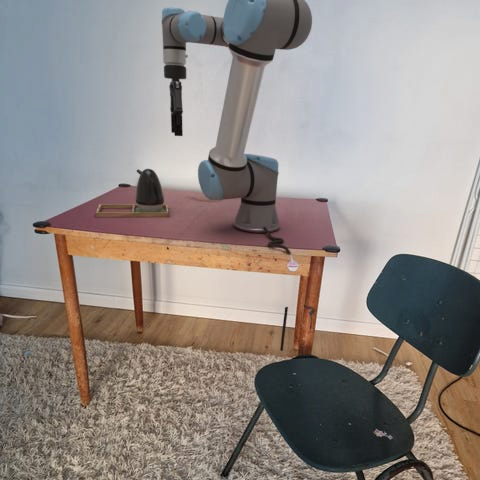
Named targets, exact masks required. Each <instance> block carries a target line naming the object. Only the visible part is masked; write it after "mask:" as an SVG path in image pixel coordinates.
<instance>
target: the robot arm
mask: <svg viewBox="0 0 480 480" xmlns="http://www.w3.org/2000/svg"><path fill="white" fill-rule="evenodd" d="M312 26H313V16H312V11H311V8H310V6H309V3H308V2H307V1H306V0H227V3H226V6H225V8H224V12H223V17H221V16H220V17H219V16H212V15H206V14H201V13H200V12H199V11H197V10H186V11H185V9H183V8H180V7H173V6H170V7H164V8H163V9H162V11H161V30H162V31H161V32H162V61H163V64H164V66H163V77H164V78H165V79H169V80H171V81H170V83H169V86H168V87H169V96H170V97H169V98H170V108H169V110H170V128H171V129H170V130H171V133H172V134H174V137H183V136H184V135H183V131H184V130H183V113H184V110H183V86H182V81H180V80H186V79H187V67H186V64H187V58H189V55H188V54H186V53H187V43H188V44H189V43H192V44H201V45H211V46H217V47H225V48H228V51H229V52H230V54H231V57H232V59H231V64H230V70H229V74H228V80H227V85H226V89H225V96H224V100H223V105H222V112H221V116H220V122H219V127H218V131H217V137H216V141H215V146H214V147H212V148H211V149H210V150H209V152H208V157H207V159H204V160H202V161H200V163H199V164H198V166H197V167H198V168H197V179H198V184H199V187H200V189H201V192H202V194H203V195H204V197H205V198H207V199H208V200H210V201H223V200H233V199H240V204H239V208H238V210H237V213H236V216H235V218H234V228H235V229H237V230H239V231H242V232H247V233H252V234H253V233H254V234H267V237H268V238H269V239H271V240H270V241H269V242H268V243H267V245H268V246H269V247H272V248H280V249H283V250H285V252H286V253H287V255H292V253H291V250H290V249H289V247H287V246H286V245H283V244H282V243H283V242H284V241H285V240H284V239H283V238H282V237H276V236H272V234H271V233H273V232H276V231H278V230H279V229H280V220H279V217H278V212H277V206H276V201H277V189H278V179H279V174H280V172H279V161H278V160H277V159H276V158H275V157H274V158H273V157H269V156H265V155H258V154H252V153H245V152H246V148H247V147H246V146H247V142H248V139H249V136H250V135H249V134H250V131H251V126H252V122H253V118H254V113H255V109H256V106H257V102H258V98H259V94H260V89H261V86H262V82H263V81H262V80H263V77H264V74H265V73H264V72H265V69H266V67H267V66H268V65H269V64H271V63H272V62H273V61H274V58H275V54H276V50H282V51H283V50H284V51H287V50H288V51H290V50H295V49H297V48H299V47H301V46H302V45H303V44H304V43H305V42H306V41H307V39H308V38H309V36H310V34H311V31H312ZM288 310H289V306H285V307H284V313H283V314H284V315H283V322H282V330H281V338H280V348H279V349H280V351H281V352H283V351H284V344H285V335H286V326H287V320H288V319H287V318H288V312H289V311H288Z"/></svg>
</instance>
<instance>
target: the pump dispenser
mask: <svg viewBox="0 0 480 480" xmlns="http://www.w3.org/2000/svg"><path fill="white" fill-rule="evenodd" d="M136 173H137V174H138V175H139V177H138V179H137V184H136V190H135V204H137V205H138V208H139V209H140V210H141V211H142V212H159V211H160V210H161V209H162V207H163V204H165V196H164V190H163V187H162V184H161V183H162V182H161V181H160V178H159V176H158V174H157V173H156V171H155V170H153V169H151V168H145V169H143V170H140V169H139V168H138V169H136Z"/></svg>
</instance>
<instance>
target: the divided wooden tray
mask: <svg viewBox="0 0 480 480" xmlns="http://www.w3.org/2000/svg"><path fill="white" fill-rule="evenodd" d="M102 209H131V211H128V212H127V211H124V212H123V211H121V212H120V211H119V212H118V211H117V212H116V211H114V212H113V211H111V212H110V211H109V212H107V211H106V212H105V211H104V212H103V211H102ZM101 211H102V212H101ZM169 214H170V213H169V205H168V204H167V203H163V207H162V209H161V210H160V211H159V212H142V211H141V210H140V209H139V208H138V205H137V203H100V204H98V207H97V209H96V211H95V217H96V218H169V217H170V216H169Z"/></svg>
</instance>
